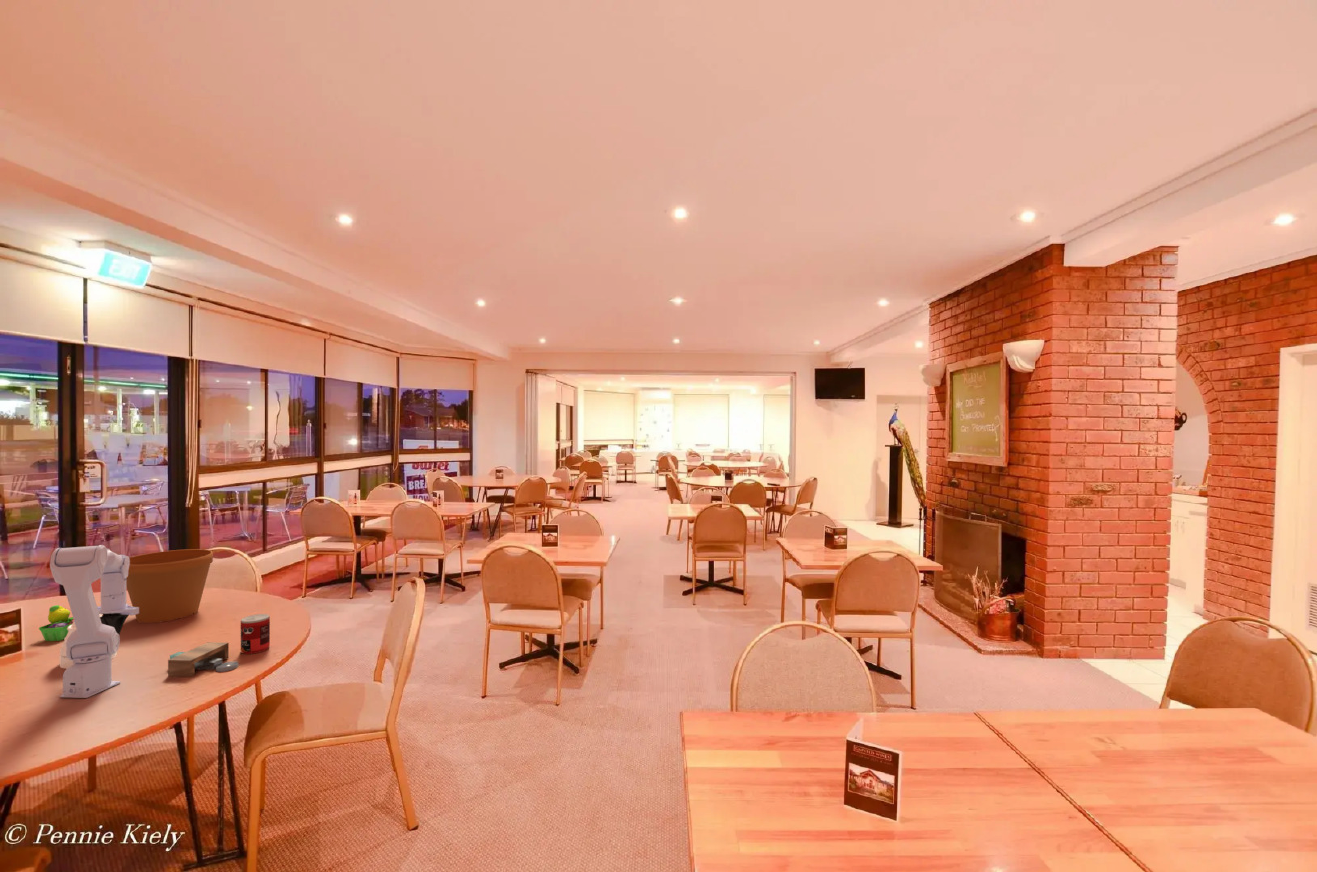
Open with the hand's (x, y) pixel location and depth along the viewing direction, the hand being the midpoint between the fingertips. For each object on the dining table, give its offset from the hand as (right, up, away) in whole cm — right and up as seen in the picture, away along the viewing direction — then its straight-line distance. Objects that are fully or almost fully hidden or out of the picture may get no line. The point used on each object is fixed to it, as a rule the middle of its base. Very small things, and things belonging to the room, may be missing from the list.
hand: (113, 637), depth 172 cm
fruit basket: (-45, -10, +27) cm, 53 cm away
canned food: (+33, -10, +16) cm, 38 cm away
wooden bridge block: (+25, -10, +2) cm, 27 cm away
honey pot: (-15, -10, +7) cm, 19 cm away
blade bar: (+24, -10, +2) cm, 26 cm away
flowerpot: (-28, -10, +50) cm, 58 cm away
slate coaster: (+34, -10, +1) cm, 36 cm away
